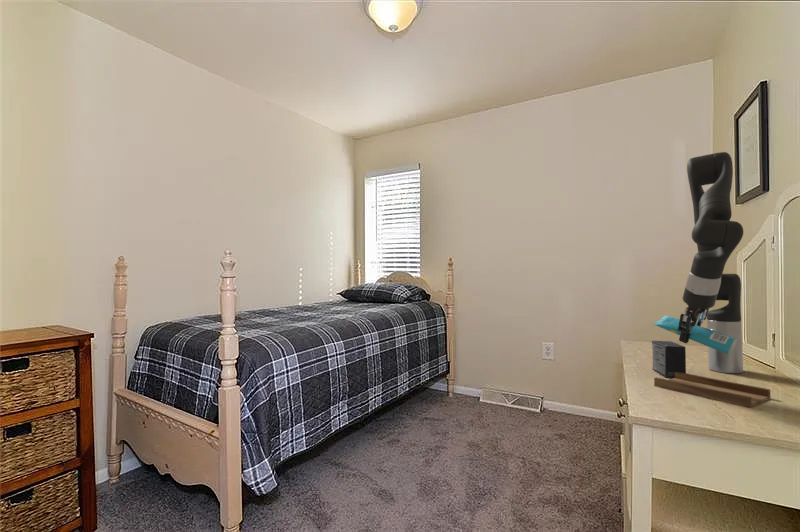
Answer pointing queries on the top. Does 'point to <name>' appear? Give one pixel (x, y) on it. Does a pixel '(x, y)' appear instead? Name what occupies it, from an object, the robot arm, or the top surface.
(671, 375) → the small box
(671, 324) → the tube
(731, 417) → the top surface
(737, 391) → the brown wooden tray
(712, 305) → the robot arm
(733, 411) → the top surface
